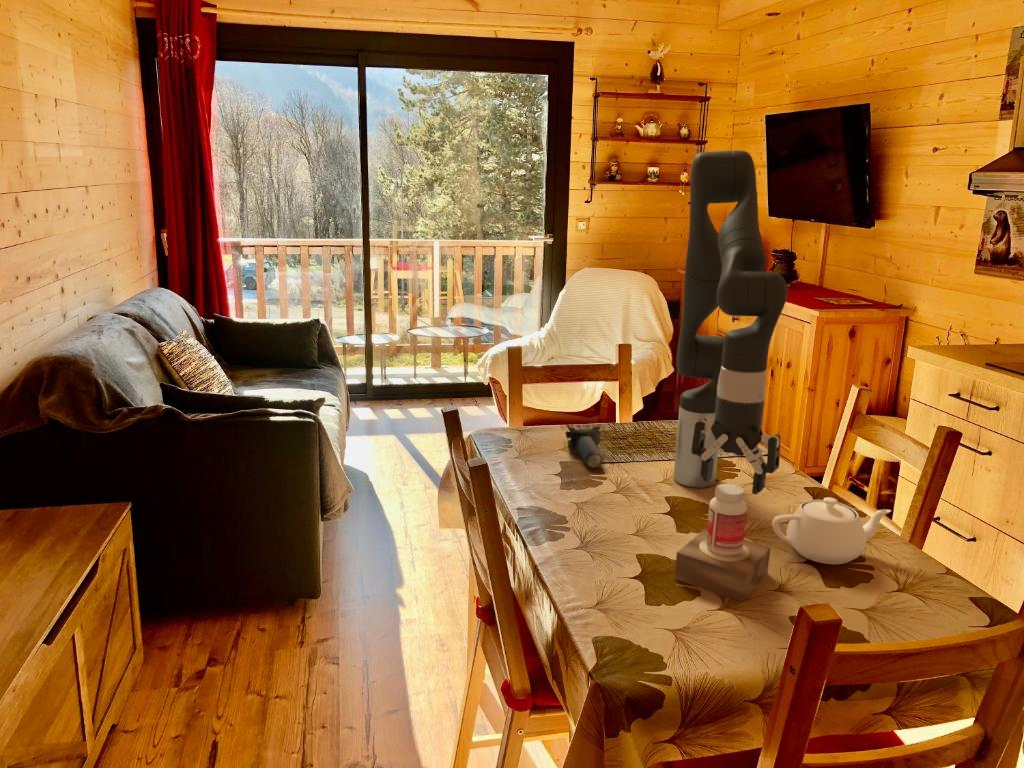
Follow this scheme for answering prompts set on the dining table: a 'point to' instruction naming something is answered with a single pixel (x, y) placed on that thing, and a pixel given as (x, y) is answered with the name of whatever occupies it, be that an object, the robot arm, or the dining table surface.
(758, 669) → the dining table surface
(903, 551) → the dining table surface
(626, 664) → the dining table surface
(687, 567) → the pedestal
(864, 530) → the teapot
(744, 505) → the pill bottle
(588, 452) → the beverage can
